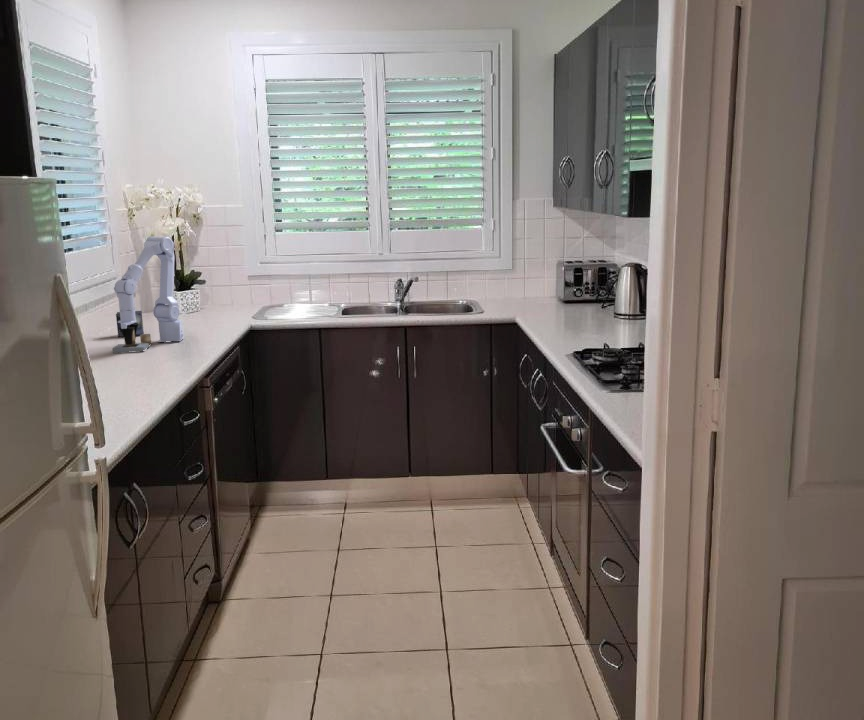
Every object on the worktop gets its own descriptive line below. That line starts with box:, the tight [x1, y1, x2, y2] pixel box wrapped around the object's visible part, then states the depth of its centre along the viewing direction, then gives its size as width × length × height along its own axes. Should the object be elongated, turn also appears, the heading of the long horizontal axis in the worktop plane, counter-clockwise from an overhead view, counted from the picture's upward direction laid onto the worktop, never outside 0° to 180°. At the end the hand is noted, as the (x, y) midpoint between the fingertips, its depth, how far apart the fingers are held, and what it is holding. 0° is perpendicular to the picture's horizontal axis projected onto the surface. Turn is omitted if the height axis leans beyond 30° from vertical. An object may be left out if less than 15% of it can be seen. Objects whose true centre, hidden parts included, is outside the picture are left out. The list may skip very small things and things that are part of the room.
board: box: [112, 342, 150, 354], centre depth 329 cm, size 12×8×2 cm, turn 95°
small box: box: [115, 310, 145, 338], centre depth 360 cm, size 11×6×10 cm, turn 105°
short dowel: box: [139, 333, 152, 345], centre depth 339 cm, size 4×4×4 cm
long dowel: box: [124, 331, 137, 347], centre depth 328 cm, size 4×4×8 cm
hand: (130, 343), depth 329 cm, fingers closed on long dowel, 4 cm apart
